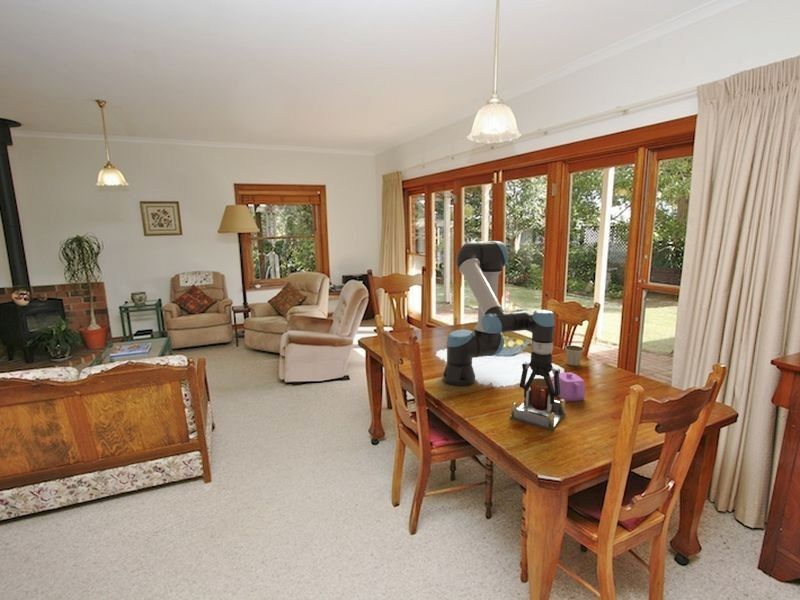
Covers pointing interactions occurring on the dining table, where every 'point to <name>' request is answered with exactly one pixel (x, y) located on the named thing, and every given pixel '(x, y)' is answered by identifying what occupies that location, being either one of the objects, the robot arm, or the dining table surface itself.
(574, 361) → the flower pot
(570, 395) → the teapot
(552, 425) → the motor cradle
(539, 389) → the mug
